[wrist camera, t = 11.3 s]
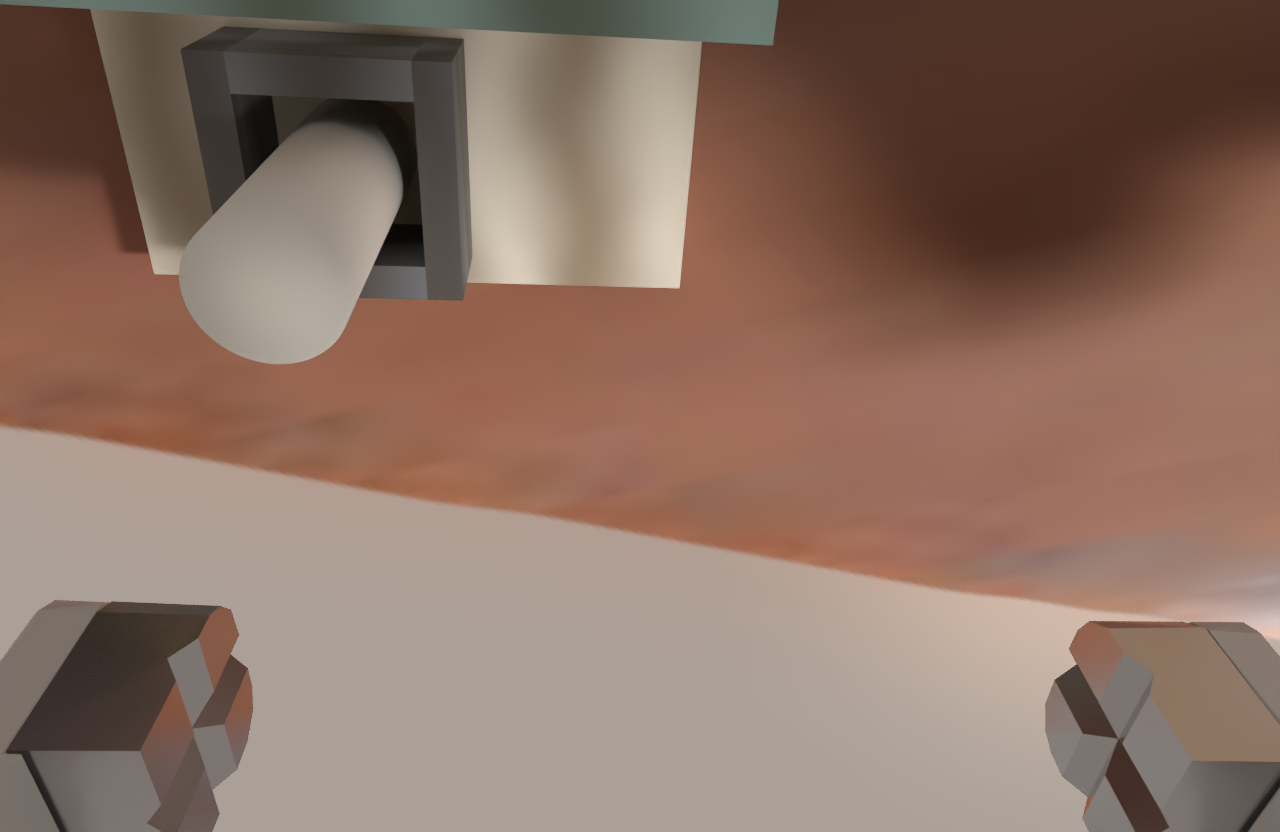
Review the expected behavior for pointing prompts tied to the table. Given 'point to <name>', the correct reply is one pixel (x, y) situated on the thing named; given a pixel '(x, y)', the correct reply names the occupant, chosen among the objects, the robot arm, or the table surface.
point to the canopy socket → (434, 122)
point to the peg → (301, 234)
